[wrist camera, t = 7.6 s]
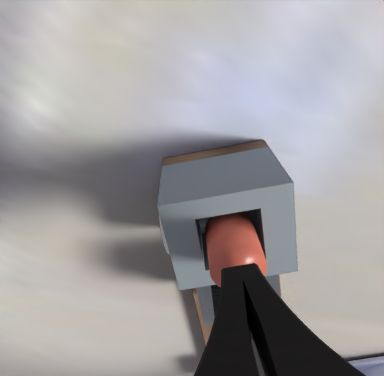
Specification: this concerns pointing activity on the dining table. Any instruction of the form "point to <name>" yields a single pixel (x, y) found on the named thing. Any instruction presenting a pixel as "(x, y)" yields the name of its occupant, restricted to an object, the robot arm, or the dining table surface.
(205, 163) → the cabinet
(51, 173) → the dining table surface
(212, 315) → the block
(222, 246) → the button
